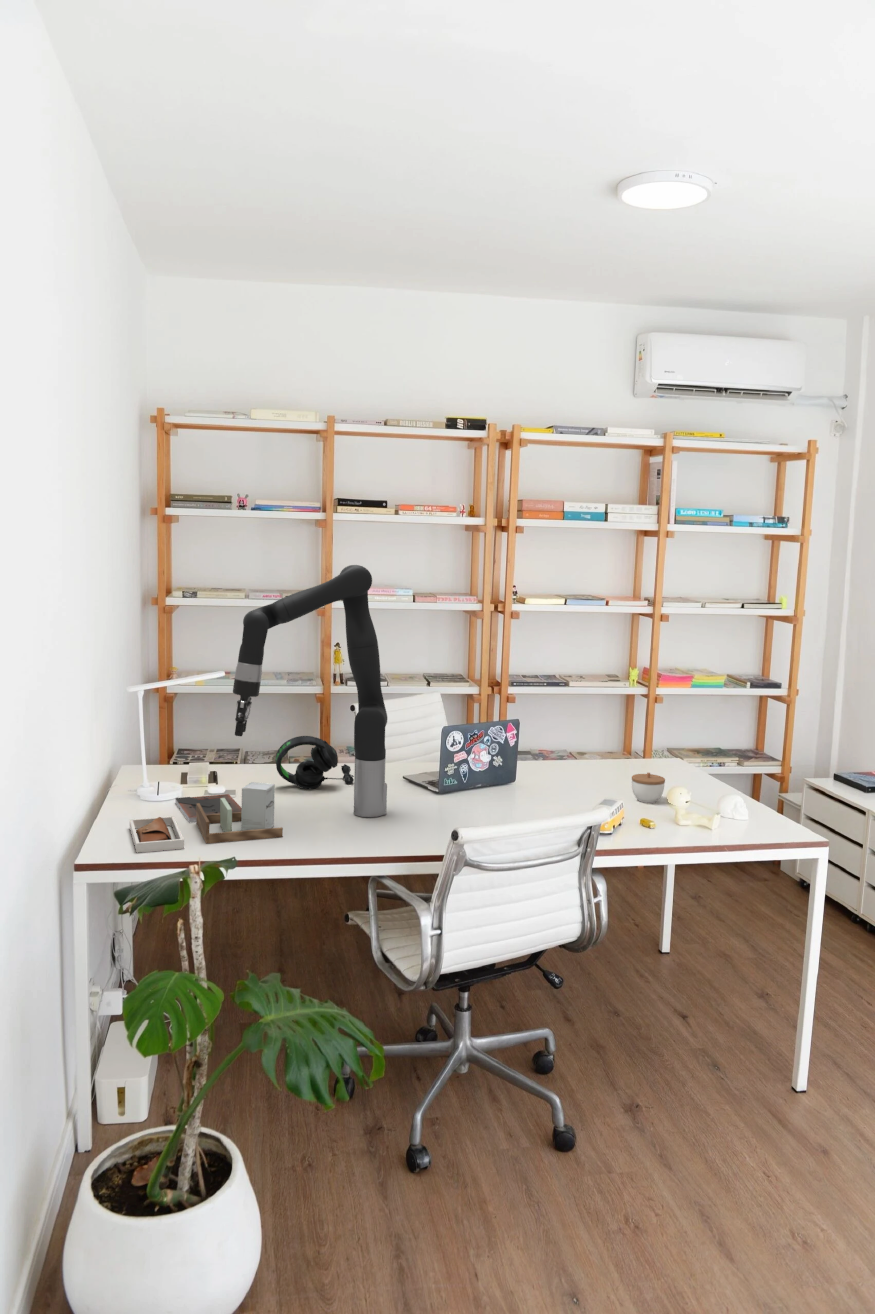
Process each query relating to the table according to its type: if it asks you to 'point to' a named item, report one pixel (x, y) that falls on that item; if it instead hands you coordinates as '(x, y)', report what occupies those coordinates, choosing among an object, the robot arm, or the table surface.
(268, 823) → the supplement box
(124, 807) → the table surface
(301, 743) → the headset
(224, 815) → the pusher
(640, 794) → the lidded jar
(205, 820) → the lane
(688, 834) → the table surface
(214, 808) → the picture frame
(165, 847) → the case corral
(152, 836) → the sunglasses case
